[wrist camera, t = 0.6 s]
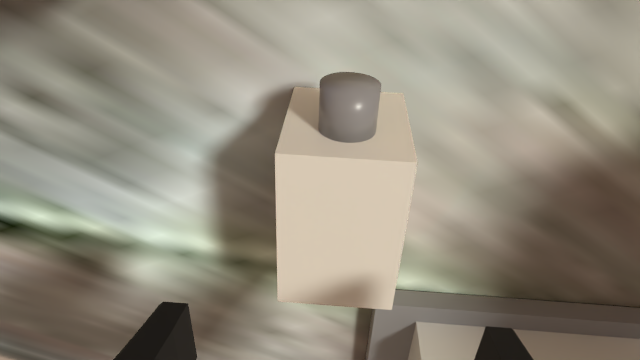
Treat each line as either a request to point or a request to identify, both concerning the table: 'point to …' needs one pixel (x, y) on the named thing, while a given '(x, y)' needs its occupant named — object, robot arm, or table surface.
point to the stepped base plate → (519, 314)
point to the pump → (343, 193)
